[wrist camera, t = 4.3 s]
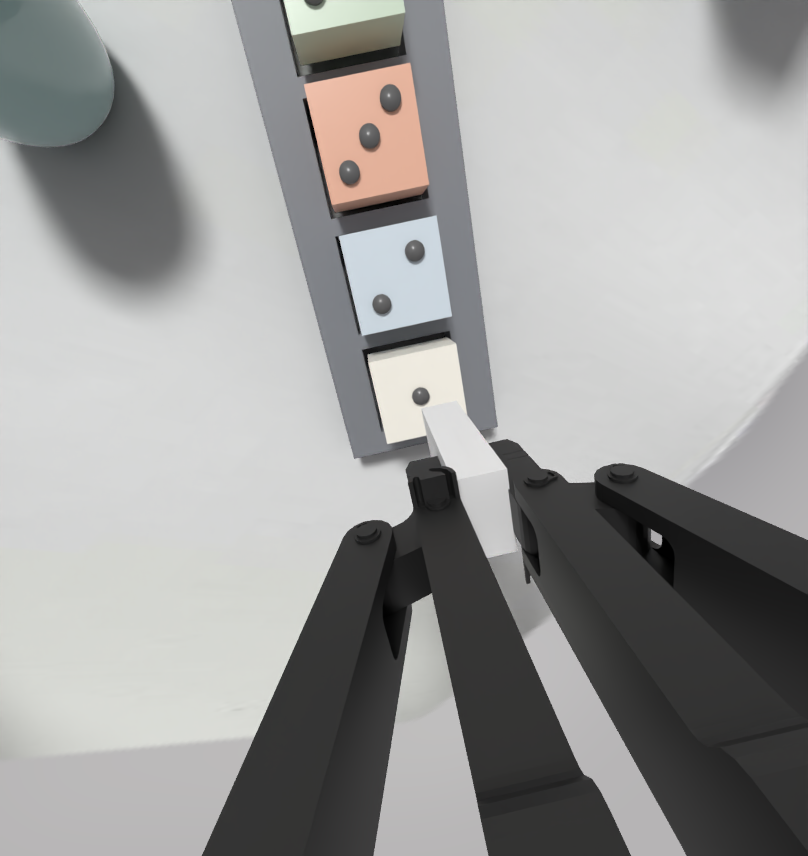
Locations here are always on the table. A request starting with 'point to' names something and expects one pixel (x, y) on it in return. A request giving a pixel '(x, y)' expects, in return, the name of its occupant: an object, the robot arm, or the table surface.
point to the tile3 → (369, 137)
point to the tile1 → (414, 384)
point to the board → (320, 232)
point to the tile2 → (397, 275)
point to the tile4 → (343, 27)
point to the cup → (51, 73)
